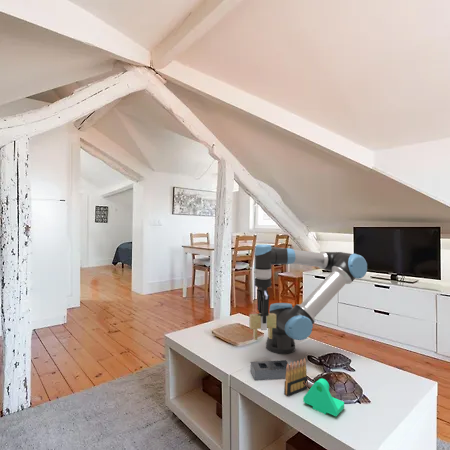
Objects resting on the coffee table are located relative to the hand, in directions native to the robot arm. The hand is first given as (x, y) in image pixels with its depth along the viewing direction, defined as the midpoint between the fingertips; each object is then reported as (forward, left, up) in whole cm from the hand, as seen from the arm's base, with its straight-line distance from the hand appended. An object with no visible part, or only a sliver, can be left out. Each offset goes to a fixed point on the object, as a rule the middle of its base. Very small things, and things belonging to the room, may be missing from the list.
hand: (262, 328), depth 141 cm
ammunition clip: (-7, +25, -16) cm, 31 cm away
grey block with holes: (-1, +11, -16) cm, 20 cm away
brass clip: (0, 0, -5) cm, 5 cm away
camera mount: (-13, +36, -17) cm, 41 cm away
